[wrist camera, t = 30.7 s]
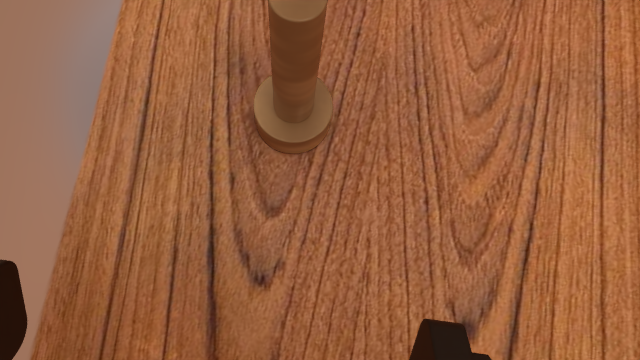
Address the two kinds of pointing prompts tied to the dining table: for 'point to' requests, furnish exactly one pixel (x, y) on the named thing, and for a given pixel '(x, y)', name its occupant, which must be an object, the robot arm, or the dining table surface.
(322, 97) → the peg on round base
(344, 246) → the dining table surface
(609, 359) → the dining table surface
